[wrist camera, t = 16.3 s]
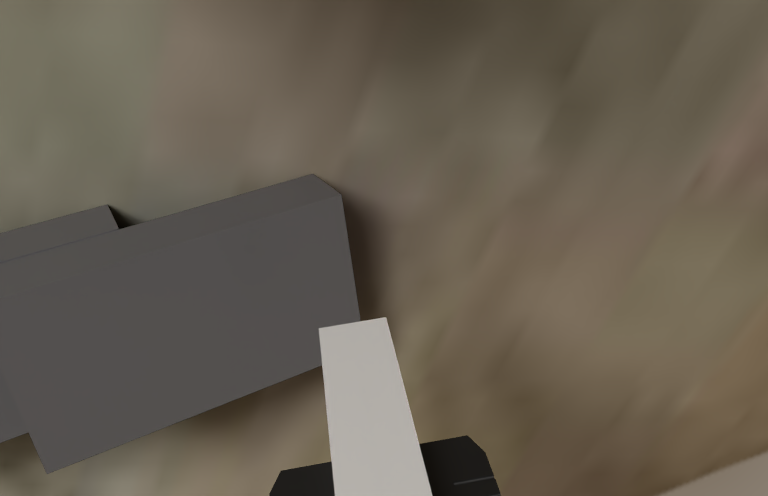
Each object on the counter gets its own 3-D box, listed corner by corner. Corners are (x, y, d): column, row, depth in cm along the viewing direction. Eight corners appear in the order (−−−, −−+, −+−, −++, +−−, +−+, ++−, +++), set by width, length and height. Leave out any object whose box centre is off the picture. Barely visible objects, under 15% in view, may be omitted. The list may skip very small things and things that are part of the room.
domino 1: (312, 173, 21) (-28, 271, 17) (341, 194, 19) (-28, 306, 16) (337, 318, 23) (41, 429, 20) (364, 348, 21) (46, 474, 18)
